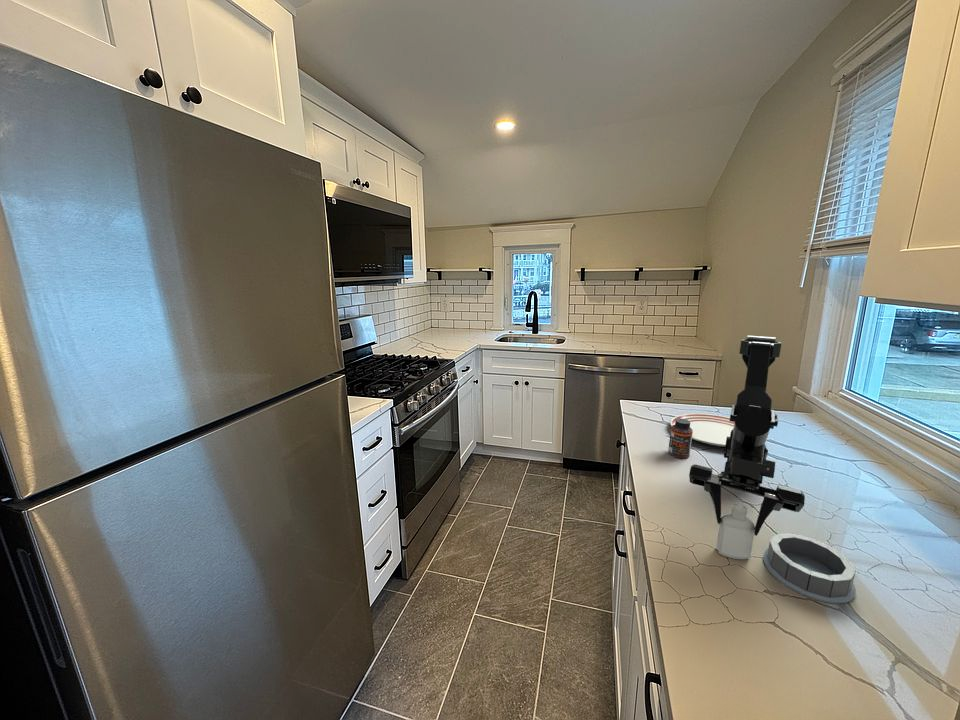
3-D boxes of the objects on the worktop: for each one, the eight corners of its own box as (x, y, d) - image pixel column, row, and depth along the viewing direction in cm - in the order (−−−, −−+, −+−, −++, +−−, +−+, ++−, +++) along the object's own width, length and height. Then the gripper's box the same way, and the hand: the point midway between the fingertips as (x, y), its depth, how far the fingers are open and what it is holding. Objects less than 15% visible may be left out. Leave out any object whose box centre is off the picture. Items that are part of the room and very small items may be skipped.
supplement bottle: (669, 457, 113) (672, 423, 111) (667, 448, 119) (670, 415, 116) (691, 460, 111) (695, 425, 109) (688, 451, 117) (692, 418, 114)
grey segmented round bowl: (806, 546, 76) (810, 529, 75) (876, 600, 64) (882, 580, 63) (747, 550, 76) (750, 533, 75) (805, 606, 63) (810, 586, 62)
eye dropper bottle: (747, 566, 72) (756, 512, 69) (713, 552, 75) (721, 500, 72) (751, 554, 75) (760, 501, 72) (718, 541, 78) (726, 490, 76)
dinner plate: (659, 438, 127) (660, 429, 126) (680, 414, 147) (681, 406, 146) (758, 463, 109) (760, 453, 108) (767, 432, 129) (768, 423, 128)
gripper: (695, 429, 78) (681, 501, 72) (813, 452, 67) (808, 540, 61) (696, 448, 86) (683, 515, 80) (801, 472, 75) (795, 551, 69)
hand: (736, 529), depth 72 cm, fingers closed on eye dropper bottle, 6 cm apart
